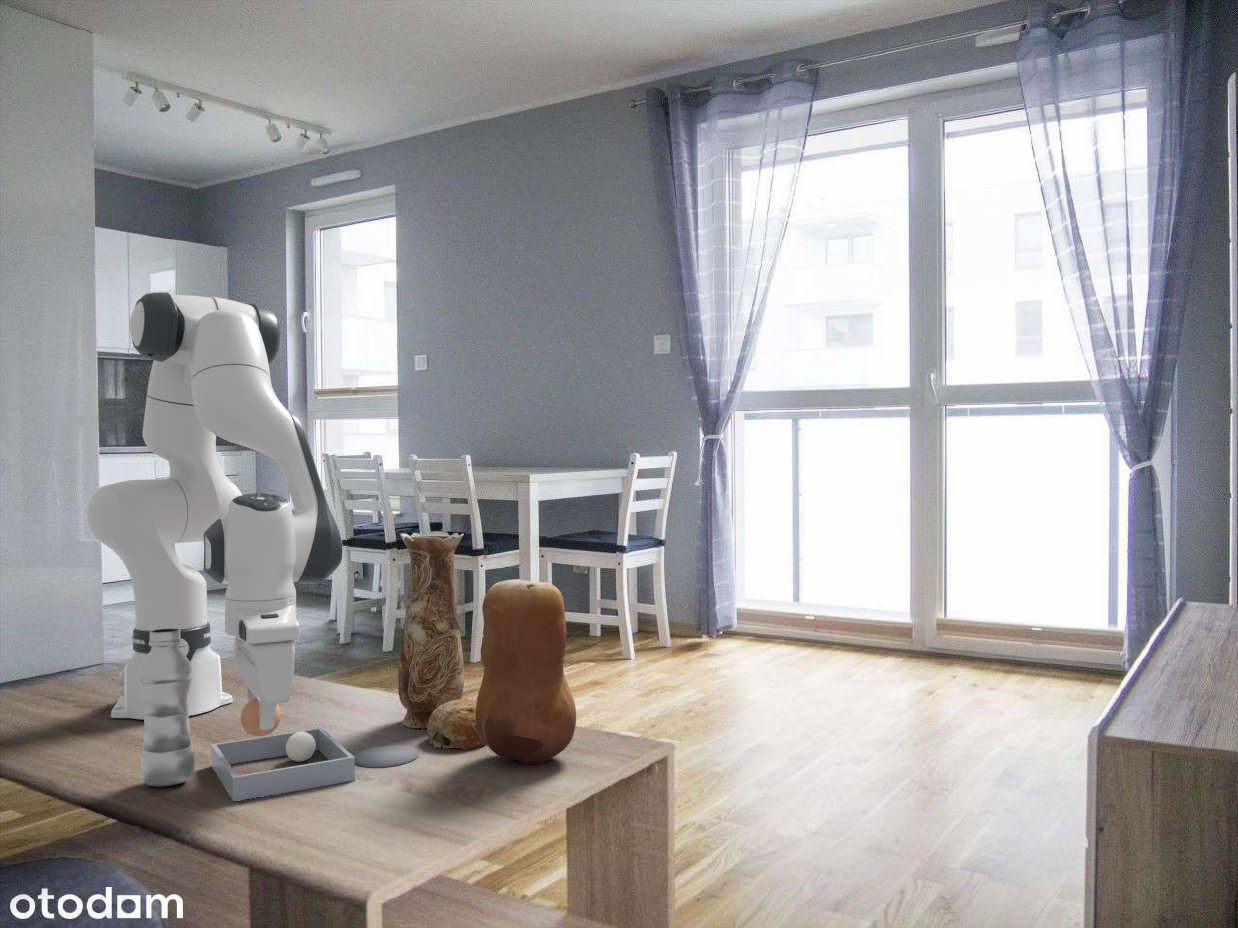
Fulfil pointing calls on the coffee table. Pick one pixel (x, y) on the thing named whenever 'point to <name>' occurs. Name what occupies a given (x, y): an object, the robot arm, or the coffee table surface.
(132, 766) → the coffee table surface
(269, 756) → the grey square frame
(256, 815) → the coffee table surface
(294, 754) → the cream ball
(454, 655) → the vase
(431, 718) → the bread roll
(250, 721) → the terracotta ball
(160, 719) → the plastic bottle
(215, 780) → the coffee table surface
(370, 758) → the pad
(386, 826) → the coffee table surface
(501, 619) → the butternut squash
